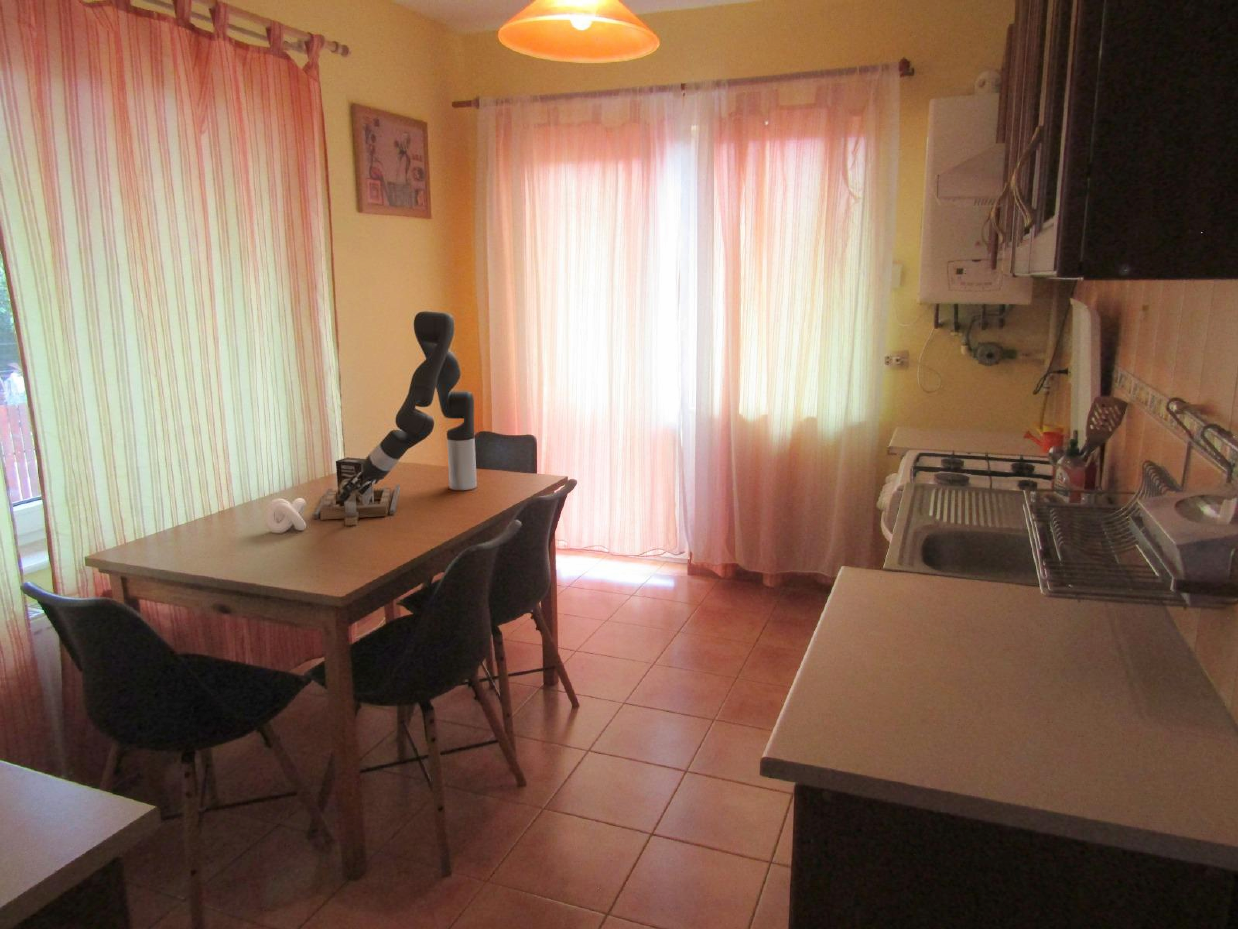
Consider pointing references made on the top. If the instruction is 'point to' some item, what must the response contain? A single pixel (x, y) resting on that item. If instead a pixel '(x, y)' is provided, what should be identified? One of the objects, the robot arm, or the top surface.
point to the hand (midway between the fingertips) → (350, 496)
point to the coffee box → (345, 472)
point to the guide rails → (392, 508)
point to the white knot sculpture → (284, 515)
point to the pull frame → (355, 506)
